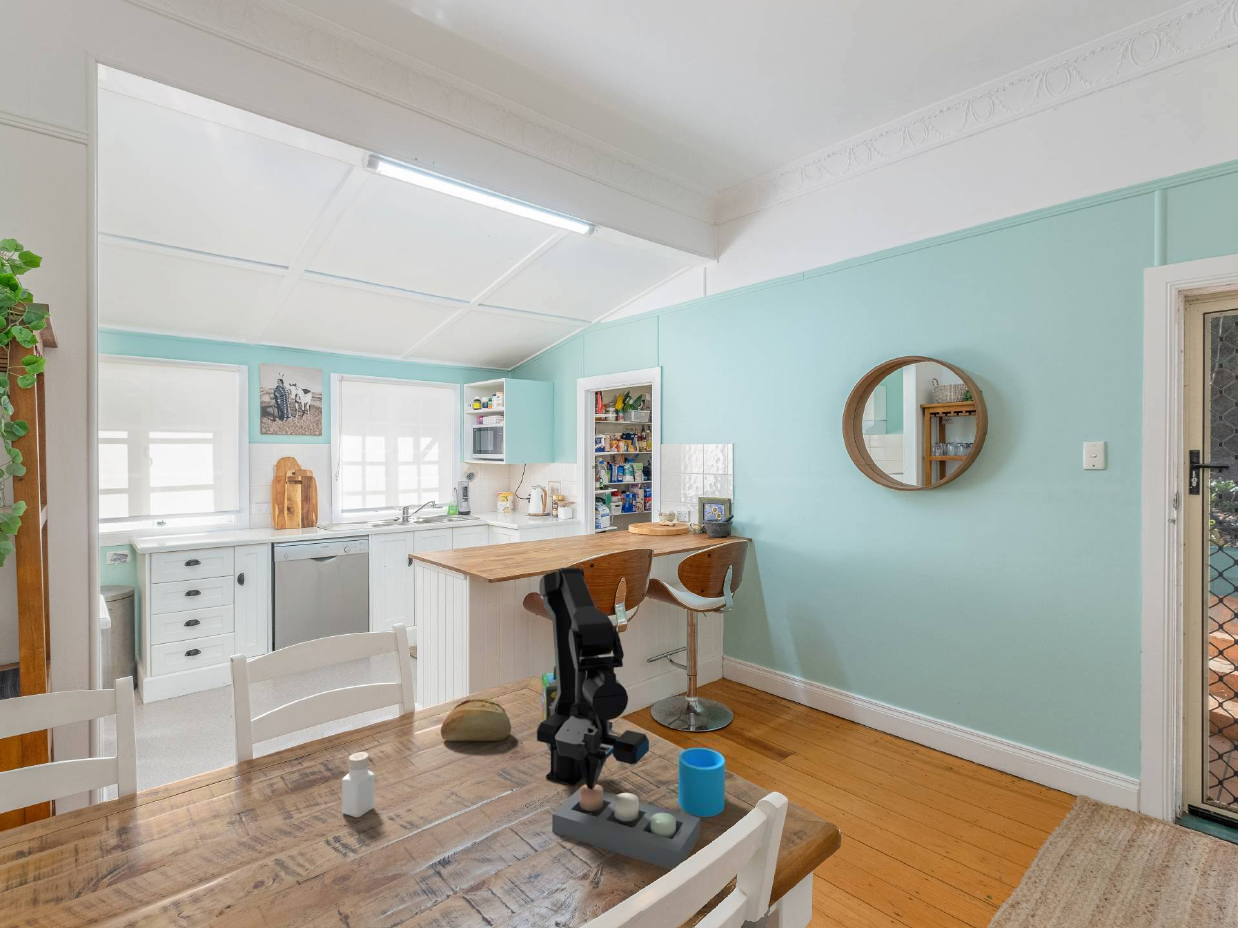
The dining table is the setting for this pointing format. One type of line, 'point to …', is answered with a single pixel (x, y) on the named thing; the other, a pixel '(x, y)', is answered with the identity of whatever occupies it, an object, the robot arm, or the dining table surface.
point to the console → (628, 831)
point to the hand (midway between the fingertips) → (591, 788)
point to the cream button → (626, 806)
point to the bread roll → (476, 722)
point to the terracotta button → (591, 798)
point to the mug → (701, 782)
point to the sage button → (663, 825)
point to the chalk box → (548, 692)
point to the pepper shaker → (358, 786)
